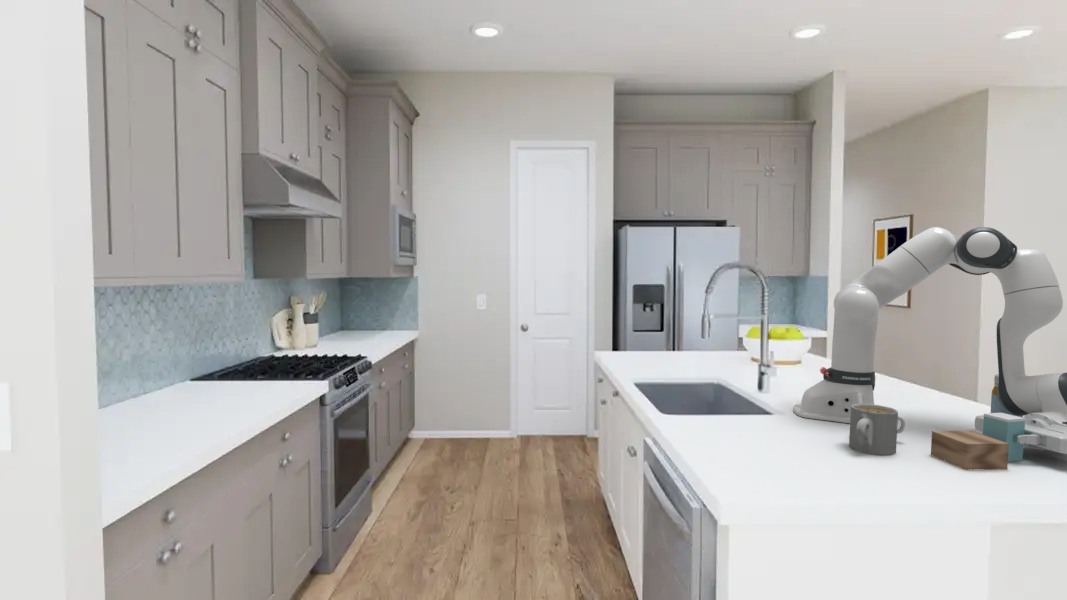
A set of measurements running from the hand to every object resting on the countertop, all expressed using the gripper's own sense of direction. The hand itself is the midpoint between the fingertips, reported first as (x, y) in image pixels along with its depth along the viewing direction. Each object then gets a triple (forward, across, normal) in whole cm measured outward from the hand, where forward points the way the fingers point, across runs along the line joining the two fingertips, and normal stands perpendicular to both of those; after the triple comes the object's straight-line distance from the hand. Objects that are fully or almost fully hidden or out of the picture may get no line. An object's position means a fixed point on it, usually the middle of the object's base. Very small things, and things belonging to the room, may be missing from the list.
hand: (1000, 434), depth 135 cm
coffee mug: (+26, -12, +6) cm, 29 cm away
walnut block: (+10, 0, +6) cm, 11 cm away
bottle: (-28, -18, +6) cm, 34 cm away
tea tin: (-1, 0, +6) cm, 6 cm away
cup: (+16, -18, +6) cm, 25 cm away
